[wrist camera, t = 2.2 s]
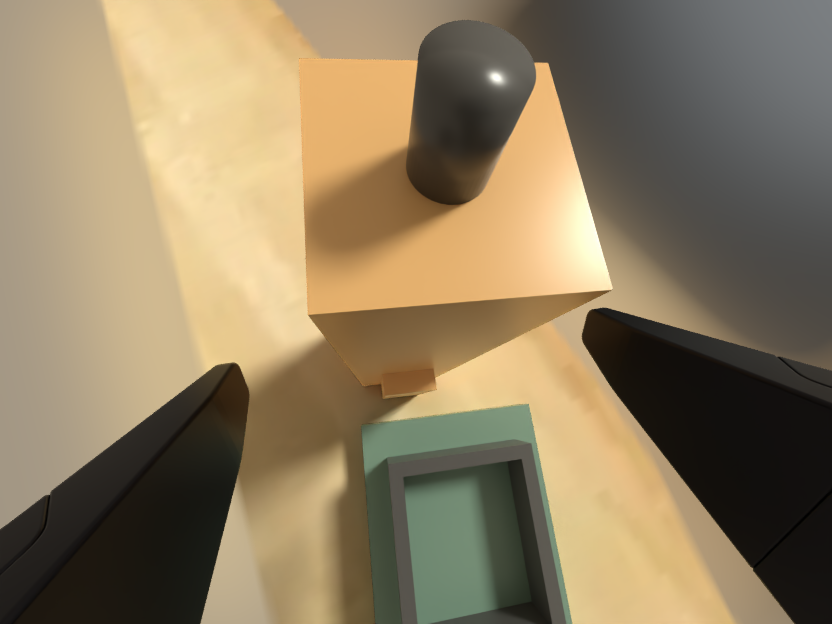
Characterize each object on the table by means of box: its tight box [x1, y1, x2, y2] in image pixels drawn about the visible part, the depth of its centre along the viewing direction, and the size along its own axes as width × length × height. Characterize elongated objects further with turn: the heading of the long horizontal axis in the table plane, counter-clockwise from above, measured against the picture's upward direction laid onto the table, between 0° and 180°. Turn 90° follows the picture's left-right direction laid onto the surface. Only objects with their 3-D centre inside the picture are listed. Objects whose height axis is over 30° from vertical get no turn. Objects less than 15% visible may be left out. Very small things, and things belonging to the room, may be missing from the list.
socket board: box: [361, 404, 572, 624], centre depth 16 cm, size 11×9×3 cm
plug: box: [299, 20, 613, 399], centre depth 11 cm, size 5×4×16 cm
